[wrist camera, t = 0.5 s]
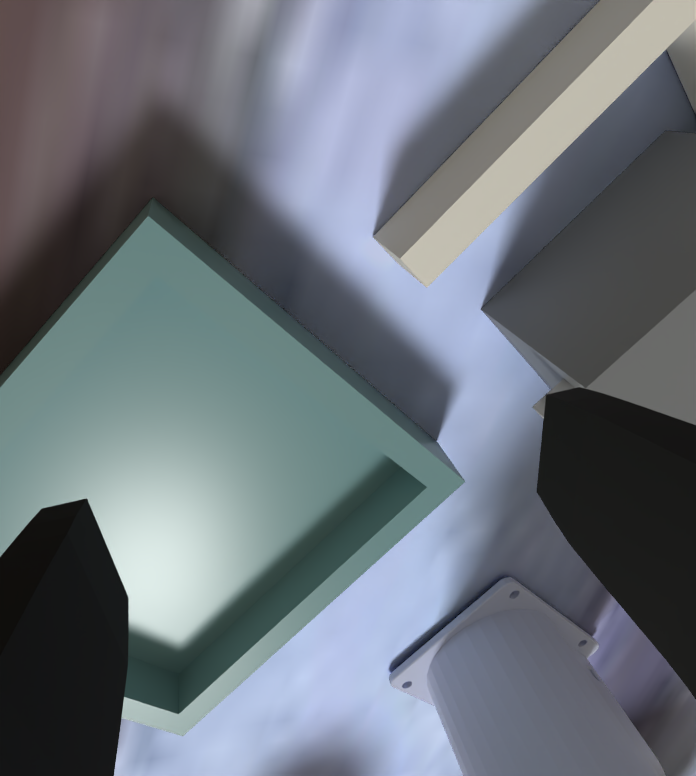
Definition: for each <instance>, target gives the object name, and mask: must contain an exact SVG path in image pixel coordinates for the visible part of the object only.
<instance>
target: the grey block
mask: <svg viewBox="0 0 696 776" xmlns="http://www.w3.org/2000/svg"><path fill="white" fill-rule="evenodd" d="M481 310H482V311H483V312H484V313H485V315H486V316H487V317H488V318H489V319H490V320H491V321H492V323H493V324H494V325H495V326H496V327H497V328H498V329H499V331H500V332H501V333H502V334H503V335H504V336H505V337H506V339H507V340H508V341H509V342H510V343H511V344H512V345H513V347H514V348H515V349H516V350H517V351H518V352H519V353H520V355H521V356H522V357H523V358H524V359H525V360H526V361H527V362H528V364H529V365H530V366H531V367H532V368H533V369H534V370H535V372H536V373H537V374H538V375H539V376H540V377H541V378H542V380H543V381H544V382H545V383H546V384H547V385H548V386H549V388H550V389H551V390H550V391H549V392H548V393H547V394H551V393H555V392H560V391H564V390H569V389H573V388H577V387H581V388H585V389H589V390H593V391H596V392H600V393H603V394H607V395H610V396H613V397H616V398H619V399H622V400H625V401H628V402H631V403H634V404H637V405H640V406H643V407H645V408H648V409H651V410H654V411H657V412H660V413H663V414H665V415H668V416H671V417H674V418H677V419H680V420H683V421H685V422H688V423H691V424H694V425H696V133H686V132H676V131H665V132H664V133H663V134H661V135H660V136H659V137H658V138H657V139H656V140H655V141H654V142H653V143H652V144H651V145H650V146H649V147H648V148H647V149H646V150H645V151H644V152H643V153H642V154H641V155H640V156H639V157H638V158H637V159H636V160H635V161H634V162H632V163H631V164H630V165H629V166H628V167H627V168H626V169H625V170H624V171H623V172H622V173H621V174H620V175H619V176H618V177H617V178H616V179H615V180H614V181H613V182H612V183H611V184H610V185H609V186H608V187H607V188H606V189H605V190H604V191H602V192H601V193H600V194H599V195H598V196H597V197H596V198H595V199H594V200H593V201H592V202H591V203H590V204H589V205H588V206H587V207H586V208H585V209H584V210H583V211H582V212H581V213H580V214H579V215H578V216H577V217H576V218H575V219H574V220H572V221H571V222H570V223H569V224H568V225H567V226H566V227H565V228H564V229H563V230H562V231H561V232H560V233H559V234H558V235H557V236H556V237H555V238H554V239H553V240H552V241H551V242H550V243H549V244H548V245H547V246H546V247H545V248H543V249H542V250H541V251H540V252H539V253H538V254H537V255H536V256H535V257H534V258H533V259H532V260H531V261H530V262H529V263H528V264H527V265H526V266H525V267H524V268H523V269H522V270H521V271H520V272H519V273H518V274H517V275H516V276H515V277H513V278H512V279H511V280H510V281H509V282H508V283H507V284H506V285H505V286H504V287H503V288H502V289H501V290H500V291H499V292H498V293H497V294H496V295H495V296H494V297H493V298H492V299H491V300H490V301H489V302H488V303H487V304H486V305H484V306H483V307H482V308H481ZM545 400H546V395H545V396H544V397H543V398H542V399H540V400H539V401H538V402H537V403H536V404H535V405H534V406H533V408H534V410H535V411H536V412H537V413H538V414H539V415H540V416H541V417H542V418H543V419H544V411H545Z"/></svg>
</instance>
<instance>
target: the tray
mask: <svg viewBox="0 0 696 776" xmlns="http://www.w3.org/2000/svg"><path fill="white" fill-rule="evenodd" d="M464 482H465V480H464V479H463V478H462V476H461V475H460V473H459V472H458V471H457V469H456V468H455V466H454V465H453V464H452V462H451V461H450V459H449V458H448V457H447V455H446V454H445V452H444V451H443V450H442V448H441V447H440V445H439V444H438V443H437V442H436V441H435V440H434V439H433V438H432V437H431V436H429V435H428V434H427V433H426V432H425V431H424V430H423V429H421V428H420V427H419V426H418V425H417V424H416V423H414V422H413V421H412V420H411V419H410V418H409V417H407V416H406V415H405V414H404V413H403V412H402V411H400V410H399V409H398V408H397V407H396V406H395V405H393V404H392V403H391V402H390V401H389V400H388V399H387V398H385V397H384V396H383V395H382V394H381V393H380V392H378V391H377V390H376V389H375V388H374V387H373V386H371V385H370V384H369V383H368V382H367V381H366V380H364V379H363V378H362V377H361V376H360V375H359V374H358V373H356V372H355V371H354V370H353V369H352V368H351V367H349V366H348V365H347V364H346V363H345V362H344V361H342V360H341V359H340V358H339V357H338V356H337V355H335V354H334V353H333V352H332V351H331V350H330V349H329V348H327V347H326V346H325V345H324V344H323V343H322V342H320V341H319V340H318V339H317V338H316V337H315V336H313V335H312V334H311V333H310V332H309V331H308V330H306V329H305V328H304V327H303V326H302V325H301V324H299V323H298V322H297V321H296V320H295V319H294V318H293V317H291V316H290V315H289V314H288V313H287V312H286V311H284V310H283V309H282V308H281V307H280V306H279V305H277V304H276V303H275V302H274V301H273V300H272V299H270V298H269V297H268V296H267V295H266V294H265V293H264V292H262V291H261V290H260V289H259V288H258V287H257V286H255V285H254V284H253V283H252V282H251V281H250V280H248V279H247V278H246V277H245V276H244V275H243V274H241V273H240V272H239V271H238V270H237V269H236V268H235V267H233V266H232V265H231V264H230V263H229V262H228V261H226V260H225V259H224V258H223V257H222V256H221V255H219V254H218V253H217V252H216V251H215V250H214V249H212V248H211V247H210V246H209V245H208V244H207V243H205V242H204V241H203V240H202V239H201V238H200V237H199V236H197V235H196V234H195V233H194V232H193V231H192V230H190V229H189V228H188V227H187V226H186V225H185V224H183V223H182V222H181V221H180V220H179V219H178V218H176V217H175V216H174V215H173V214H172V213H171V212H170V211H168V210H167V209H166V208H165V207H164V206H163V205H161V204H160V203H159V202H158V201H157V200H156V199H154V198H152V199H151V200H150V201H149V202H148V204H147V205H146V206H145V207H144V208H143V209H142V211H141V212H140V213H139V214H138V215H137V216H136V218H135V219H134V220H133V221H132V222H131V223H130V225H129V226H128V227H127V228H126V229H125V230H124V232H123V233H122V234H121V235H120V236H119V237H118V239H117V240H116V241H115V242H114V243H113V244H112V246H111V247H110V248H109V249H108V250H107V251H106V253H105V254H104V255H103V256H102V257H101V258H100V260H99V261H98V262H97V263H96V264H95V265H94V267H93V268H92V269H91V270H90V271H89V272H88V274H87V275H86V276H85V277H84V278H83V279H82V281H81V282H80V283H79V284H78V285H77V286H76V288H75V289H74V290H73V291H72V292H71V293H70V295H69V296H68V297H67V298H66V299H65V300H64V302H63V303H62V304H61V305H60V306H59V307H58V309H57V310H56V311H55V312H54V313H53V314H52V316H51V317H50V318H49V319H48V320H47V321H46V323H45V324H44V325H43V326H42V327H41V328H40V330H39V331H38V332H37V333H36V334H35V335H34V337H33V338H32V339H31V340H30V341H29V342H28V344H27V345H26V346H25V347H24V348H23V349H22V351H21V352H20V353H19V354H18V355H17V356H16V358H15V359H14V360H13V361H12V362H11V363H10V365H9V366H8V367H7V368H6V369H5V370H4V372H3V373H2V374H1V375H0V556H1V555H2V554H3V553H4V552H5V550H6V549H7V548H8V547H9V546H10V544H11V543H12V542H13V541H14V540H15V538H16V537H17V536H18V535H19V534H20V533H21V531H22V530H23V529H24V528H25V527H26V525H27V524H28V523H29V522H30V521H31V520H32V519H33V518H34V516H35V515H36V514H37V513H38V512H39V511H40V510H41V509H42V508H46V507H51V506H55V505H60V504H64V503H68V502H73V501H77V500H82V499H86V498H87V499H88V502H89V504H90V507H91V509H92V511H93V514H94V516H95V519H96V521H97V523H98V526H99V528H100V530H101V533H102V535H103V538H104V540H105V542H106V545H107V547H108V550H109V552H110V554H111V557H112V559H113V562H114V564H115V566H116V569H117V571H118V573H119V576H120V578H121V581H122V583H123V585H124V588H125V590H126V593H127V595H128V598H129V640H128V670H127V678H126V686H125V694H124V702H123V709H122V717H121V718H123V719H127V720H130V721H133V722H137V723H140V724H144V725H147V726H150V727H154V728H157V729H160V730H164V731H167V732H170V733H174V734H177V735H180V736H184V735H185V734H186V733H187V732H188V731H189V730H190V729H192V728H193V727H194V726H195V725H196V724H197V723H198V722H199V721H200V720H201V719H203V718H204V717H205V716H206V715H207V714H208V713H209V712H210V711H211V710H213V709H214V708H215V707H216V706H217V705H218V704H219V703H220V702H221V701H223V700H224V699H225V698H226V697H227V696H228V695H229V694H230V693H231V692H233V691H234V690H235V689H236V688H237V687H238V686H239V685H240V684H241V683H243V682H244V681H245V680H246V679H247V678H248V677H249V676H250V675H251V674H252V673H254V672H255V671H256V670H257V669H258V668H259V667H260V666H261V665H262V664H264V663H265V662H266V661H267V660H268V659H269V658H270V657H271V656H272V655H274V654H275V653H276V652H277V651H278V650H279V649H280V648H281V647H282V646H284V645H285V644H286V643H287V642H288V641H289V640H290V639H291V638H292V637H293V636H295V635H296V634H297V633H298V632H299V631H300V630H301V629H302V628H303V627H305V626H306V625H307V624H308V623H309V622H310V621H311V620H312V619H313V618H315V617H316V616H317V615H318V614H319V613H320V612H321V611H322V610H323V609H325V608H326V607H327V606H328V605H329V604H330V603H331V602H332V601H333V600H335V599H336V598H337V597H338V596H339V595H340V594H341V593H342V592H343V591H344V590H346V589H347V588H348V587H349V586H350V585H351V584H352V583H353V582H354V581H356V580H357V579H358V578H359V577H360V576H361V575H362V574H363V573H364V572H366V571H367V570H368V569H369V568H370V567H371V566H372V565H373V564H374V563H376V562H377V561H378V560H379V559H380V558H381V557H382V556H383V555H384V554H386V553H387V552H388V551H389V550H390V549H391V548H392V547H393V546H394V545H395V544H397V543H398V542H399V541H400V540H401V539H402V538H403V537H404V536H405V535H407V534H408V533H409V532H410V531H411V530H412V529H413V528H414V527H415V526H417V525H418V524H419V523H420V522H421V521H422V520H423V519H424V518H425V517H427V516H428V515H429V514H430V513H431V512H432V511H433V510H434V509H435V508H437V507H438V506H439V505H440V504H441V503H442V502H443V501H444V500H445V499H446V498H448V497H449V496H450V495H451V494H452V493H453V492H454V491H455V490H456V489H458V488H459V487H460V486H461V485H462V484H463V483H464Z"/></svg>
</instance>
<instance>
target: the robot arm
mask: <svg viewBox="0 0 696 776" xmlns="http://www.w3.org/2000/svg"><path fill="white" fill-rule="evenodd" d="M537 493H538V495H539V496H540V498H541V500H542V501H543V503H544V505H545V506H546V508H547V510H548V511H549V513H550V515H551V516H552V518H553V519H554V521H555V523H556V524H557V526H558V527H559V529H560V530H561V532H562V533H563V535H564V536H565V538H566V539H567V541H568V542H569V544H570V545H571V546H572V547H573V549H574V550H575V551H576V552H577V554H578V555H579V556H580V557H581V558H582V560H583V561H584V562H585V563H586V565H587V566H588V567H589V568H590V569H591V571H592V572H593V573H594V574H595V576H596V577H597V578H598V579H599V580H600V582H601V583H602V584H603V585H604V586H605V588H606V589H607V590H608V591H609V592H610V594H611V595H612V596H613V597H614V598H615V599H616V601H617V602H618V603H619V604H620V605H621V607H622V608H623V609H624V610H625V611H626V613H627V614H628V615H629V616H630V617H631V619H632V620H633V621H634V622H635V623H636V625H637V626H638V627H639V628H640V629H641V630H642V632H643V633H644V634H645V635H646V636H647V638H648V639H649V640H650V641H651V642H652V644H653V645H654V646H655V647H656V648H657V650H658V651H659V652H660V653H661V654H662V656H663V657H664V658H665V659H666V660H667V662H668V663H669V664H670V666H671V667H672V668H673V669H674V671H675V672H676V673H677V675H678V676H679V677H680V678H681V680H682V681H683V682H684V684H685V685H686V686H687V687H688V689H689V690H690V692H691V693H692V695H693V696H694V697H695V699H696V425H694V424H691V423H688V422H685V421H683V420H680V419H677V418H674V417H671V416H668V415H665V414H663V413H660V412H657V411H654V410H651V409H648V408H645V407H643V406H640V405H637V404H634V403H631V402H628V401H625V400H622V399H619V398H616V397H613V396H610V395H607V394H603V393H600V392H596V391H593V390H589V389H585V388H581V387H577V388H573V389H569V390H564V391H560V392H555V393H551V394H546V400H545V411H544V421H543V431H542V442H541V452H540V463H539V473H538V483H537ZM128 640H129V598H128V595H127V593H126V590H125V588H124V585H123V583H122V581H121V578H120V576H119V573H118V571H117V569H116V566H115V564H114V562H113V559H112V557H111V554H110V552H109V550H108V547H107V545H106V542H105V540H104V538H103V535H102V533H101V530H100V528H99V526H98V523H97V521H96V519H95V516H94V514H93V511H92V509H91V507H90V504H89V502H88V499H87V498H86V499H82V500H77V501H73V502H68V503H64V504H60V505H55V506H51V507H46V508H42V509H41V510H40V511H39V512H38V513H37V514H36V515H35V516H34V518H33V519H32V520H31V521H30V522H29V523H28V524H27V525H26V527H25V528H24V529H23V530H22V531H21V533H20V534H19V535H18V536H17V537H16V538H15V540H14V541H13V542H12V543H11V544H10V546H9V547H8V548H7V549H6V550H5V552H4V553H3V554H2V555H1V556H0V776H114V769H115V762H116V754H117V747H118V739H119V732H120V725H121V717H122V709H123V702H124V694H125V686H126V678H127V670H128ZM598 646H599V644H598V643H597V641H596V640H595V639H594V638H593V637H592V636H590V635H589V634H588V633H586V632H585V631H584V630H582V629H581V628H580V627H578V626H577V625H576V624H574V623H573V622H572V621H570V620H569V619H567V618H566V617H565V616H563V615H562V614H561V613H559V612H558V611H557V610H555V609H554V608H553V607H551V606H550V605H549V604H547V603H546V602H544V601H543V600H542V599H540V598H539V597H538V596H536V595H535V594H534V593H532V592H531V591H530V590H528V589H527V588H526V587H524V586H523V585H521V584H520V583H519V582H517V581H516V580H515V579H513V578H511V577H506V578H503V579H501V580H500V581H499V582H497V583H496V584H495V585H494V586H493V587H491V588H490V589H489V590H488V591H487V592H486V593H484V594H483V595H482V596H481V597H480V598H479V599H477V600H476V601H475V602H474V603H473V604H471V605H470V606H469V607H468V608H467V609H466V610H464V611H463V612H462V613H461V614H460V615H459V616H457V617H456V618H455V619H454V620H453V621H451V622H450V623H449V624H448V625H447V626H446V627H444V628H443V629H442V630H441V631H440V632H439V633H437V634H436V635H435V636H434V637H433V638H431V639H430V640H429V641H428V642H427V643H426V644H424V645H423V646H422V647H421V648H420V649H419V650H417V651H416V652H415V653H414V654H413V655H411V656H410V657H409V658H408V659H407V660H406V661H404V662H403V663H402V664H401V665H400V666H399V667H397V668H396V669H395V670H394V671H393V672H392V673H391V674H390V676H389V681H390V684H391V686H392V687H394V688H396V689H398V690H400V691H403V692H405V693H407V694H409V695H411V696H413V697H416V698H418V699H420V700H422V701H424V702H427V703H429V704H431V705H433V706H435V707H436V710H437V712H438V715H439V717H440V720H441V722H442V725H443V727H444V730H445V732H446V734H447V737H448V739H449V742H450V744H451V747H452V749H453V752H454V754H455V757H456V759H457V761H458V764H459V766H460V769H461V771H462V774H463V776H666V775H665V772H664V770H663V768H662V766H661V764H660V763H659V761H658V759H657V758H656V756H655V755H654V753H653V752H652V750H651V749H650V748H649V746H648V745H647V743H646V742H645V740H644V739H643V738H642V736H641V735H640V733H639V732H638V731H637V729H636V728H635V726H634V725H633V723H632V722H631V721H630V719H629V718H628V716H627V715H626V713H625V712H624V711H623V709H622V708H621V706H620V705H619V704H618V702H617V701H616V699H615V698H614V696H613V695H612V694H611V692H610V691H609V689H608V688H607V687H606V685H605V684H604V682H603V681H602V679H601V678H600V677H599V675H598V674H597V672H596V671H595V670H594V668H593V667H592V665H591V664H590V662H589V661H588V660H587V658H588V657H589V656H590V655H592V654H593V653H594V652H595V651H596V650H597V649H598Z"/></svg>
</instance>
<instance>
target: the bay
mask: <svg viewBox="0 0 696 776" xmlns="http://www.w3.org/2000/svg"><path fill="white" fill-rule="evenodd" d="M666 49H667V52H668V54H669V56H670V58H671V61H672V63H673V65H674V67H675V70H676V72H677V74H678V76H679V79H680V81H681V83H682V85H683V87H684V90H685V92H686V94H687V96H688V99H689V101H690V103H691V105H692V108H693V110H694V112H695V114H696V0H600V1H599V2H598V3H597V4H596V5H595V6H594V7H593V8H592V9H591V10H590V11H589V12H588V13H587V15H586V16H585V17H584V18H583V19H582V20H581V21H580V22H579V23H578V24H577V25H576V26H575V27H574V28H573V29H572V30H571V31H570V32H569V33H568V34H567V35H566V36H565V37H564V38H563V40H562V41H561V42H560V43H559V44H558V45H557V46H556V47H555V48H554V49H553V50H552V51H551V52H550V53H549V54H548V55H547V56H546V57H545V58H544V59H543V60H542V61H541V62H540V63H539V64H538V66H537V67H536V68H535V69H534V70H533V71H532V72H531V73H530V74H529V75H528V76H527V77H526V78H525V79H524V80H523V81H522V82H521V83H520V84H519V85H518V86H517V87H516V88H515V89H514V91H513V92H512V93H511V94H510V95H509V96H508V97H507V98H506V99H505V100H504V101H503V102H502V103H501V104H500V105H499V106H498V107H497V108H496V109H495V110H494V111H493V112H492V113H491V114H490V115H489V117H488V118H487V119H486V120H485V121H484V122H483V123H482V124H481V125H480V126H479V127H478V128H477V129H476V130H475V131H474V132H473V133H472V134H471V135H470V136H469V137H468V138H467V139H466V140H465V142H464V143H463V144H462V145H461V146H460V147H459V148H458V149H457V150H456V151H455V152H454V153H453V154H452V155H451V156H450V157H449V158H448V159H447V160H446V161H445V162H444V163H443V164H442V165H441V166H440V168H439V169H438V170H437V171H436V172H435V173H434V174H433V175H432V176H431V177H430V178H429V179H428V180H427V181H426V182H425V183H424V184H423V185H422V186H421V187H420V188H419V189H418V190H417V191H416V193H415V194H414V195H413V196H412V197H411V198H410V199H409V200H408V201H407V202H406V203H405V204H404V205H403V206H402V207H401V208H400V209H399V210H398V211H397V212H396V213H395V214H394V215H393V216H392V218H391V219H390V220H389V221H388V222H387V223H386V224H385V225H384V226H383V227H382V228H381V229H380V230H379V231H378V232H377V233H376V234H375V235H374V236H373V238H374V239H375V240H376V241H377V242H378V243H379V244H380V245H381V246H382V247H383V248H384V250H385V251H386V252H387V253H388V254H389V255H390V256H391V257H392V258H393V259H394V260H395V261H396V262H397V263H398V264H399V265H400V266H401V267H402V268H404V269H405V270H406V271H407V272H408V273H410V274H411V275H412V276H413V277H414V278H416V279H417V280H418V281H419V282H420V283H422V284H423V285H424V286H425V287H428V286H429V285H430V284H431V283H432V282H433V281H434V280H435V279H436V278H437V277H438V276H439V275H440V274H441V273H442V272H443V271H444V270H445V269H446V268H447V267H448V266H449V265H450V264H451V263H452V262H453V261H454V260H455V259H456V258H457V257H458V256H459V255H460V254H461V253H462V252H463V251H464V250H465V249H466V248H467V247H468V246H469V245H470V244H471V243H472V242H473V241H474V240H475V239H476V238H477V237H478V236H479V235H480V234H481V233H482V232H483V231H484V230H485V229H486V228H487V227H488V226H489V225H490V224H491V223H492V222H493V221H494V220H495V219H496V218H497V217H498V216H499V215H500V214H501V213H502V212H503V211H504V210H505V209H506V208H507V207H508V206H509V205H510V204H511V203H512V202H513V201H514V200H515V199H516V198H517V197H518V196H519V195H520V194H521V193H522V192H523V191H524V190H525V189H526V188H527V187H528V186H529V185H530V184H531V183H532V182H533V181H534V180H535V179H536V178H537V177H538V176H539V175H540V174H541V173H542V172H543V171H544V170H545V169H546V168H547V167H548V166H549V165H550V164H551V163H552V162H553V161H554V160H555V159H556V158H557V157H558V156H559V155H560V154H561V153H562V152H563V151H564V150H565V149H566V148H567V147H568V146H569V145H570V144H571V143H572V142H573V141H574V140H575V139H576V138H577V137H578V136H579V135H580V134H581V133H582V132H583V131H584V130H585V129H586V128H587V127H588V126H589V125H590V124H591V123H592V122H593V121H594V120H596V119H597V118H598V117H599V116H600V115H601V114H602V113H603V112H604V111H605V110H606V109H607V108H608V107H609V106H610V105H611V104H612V103H613V102H614V101H615V100H616V99H617V98H618V97H619V96H620V95H621V94H622V93H623V92H624V91H625V90H626V89H627V88H628V87H629V86H630V85H631V84H632V83H633V82H634V81H635V80H636V79H637V78H638V77H639V76H640V75H641V74H642V73H643V72H644V71H645V70H646V69H647V68H648V67H649V66H650V65H651V64H652V63H653V62H654V61H655V60H656V59H657V58H658V57H659V56H660V55H661V54H662V53H663V52H664V51H665V50H666Z"/></svg>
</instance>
